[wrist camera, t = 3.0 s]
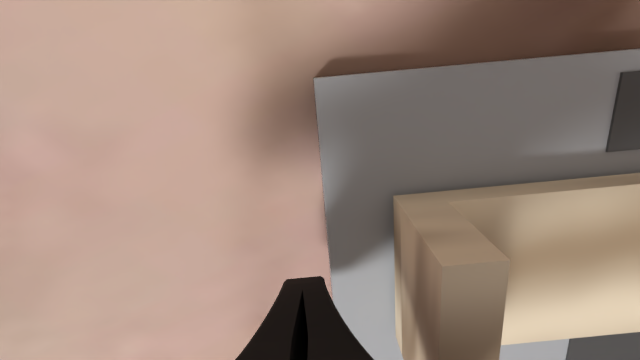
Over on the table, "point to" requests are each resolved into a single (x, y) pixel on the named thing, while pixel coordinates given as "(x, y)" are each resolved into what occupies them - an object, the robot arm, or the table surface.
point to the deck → (464, 163)
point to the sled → (515, 265)
